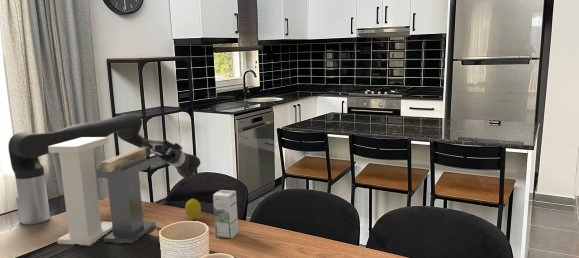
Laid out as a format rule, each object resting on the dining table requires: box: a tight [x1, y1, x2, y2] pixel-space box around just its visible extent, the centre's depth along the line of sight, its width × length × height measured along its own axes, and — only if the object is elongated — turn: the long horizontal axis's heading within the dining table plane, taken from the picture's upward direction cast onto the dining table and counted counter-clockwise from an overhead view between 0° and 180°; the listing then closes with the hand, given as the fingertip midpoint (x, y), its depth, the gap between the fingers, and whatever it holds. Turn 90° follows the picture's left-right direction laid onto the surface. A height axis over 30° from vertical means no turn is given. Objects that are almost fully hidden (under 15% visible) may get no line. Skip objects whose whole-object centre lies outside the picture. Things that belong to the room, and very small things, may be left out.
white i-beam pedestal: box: [48, 136, 113, 246], centre depth 144 cm, size 12×16×32 cm
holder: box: [95, 155, 156, 243], centre depth 143 cm, size 10×15×26 cm, turn 169°
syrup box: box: [212, 189, 239, 239], centre depth 141 cm, size 6×6×14 cm
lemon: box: [184, 198, 202, 221], centre depth 156 cm, size 6×6×8 cm
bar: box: [100, 147, 152, 172], centre depth 144 cm, size 3×24×3 cm, turn 169°
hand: (153, 142), depth 160 cm, fingers open, 8 cm apart
